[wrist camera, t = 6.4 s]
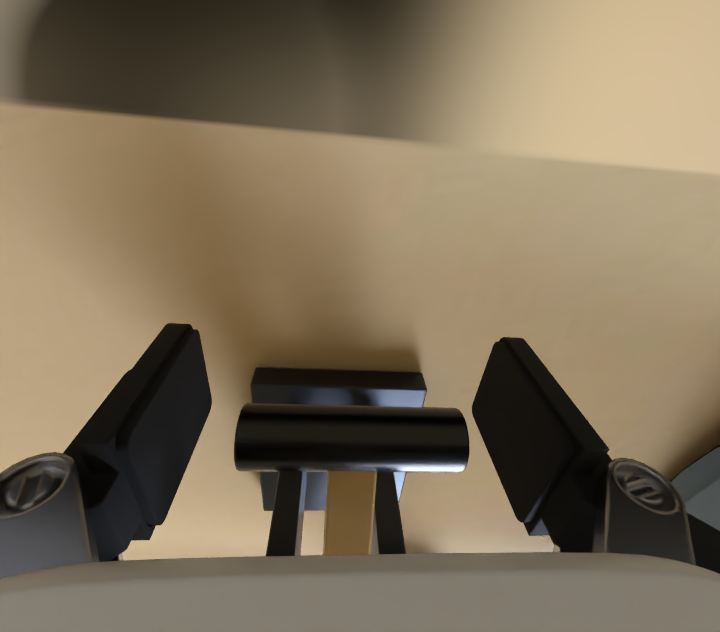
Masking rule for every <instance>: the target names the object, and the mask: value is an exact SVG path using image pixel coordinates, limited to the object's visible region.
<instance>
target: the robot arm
mask: <svg viewBox="0 0 720 632" xmlns="http://www.w3.org/2000/svg"><path fill="white" fill-rule="evenodd" d="M211 404H212V398H211V393H210V387H209V382H208V377H207V371H206V366H205V361H204V355H203V350H202V345H201V339H200V334H199V331H198V330H195V329H193V328H192V326H191V325H190V324H174V323H169V324H167V325H165V327H164V328H163V329H162V331H161V332H160V333H159V334H158V336H157V337H156V338H155V340H154V341H153V342H152V344H151V345H150V346H149V347H148V349H147V350H146V351H145V353H144V354H143V355H142V357H141V358H140V359H139V360H138V362H137V363H136V364H135V366H134V367H133V368H132V369H131V370H129V371H128V372H127V373H126V374H125V375H124V376H123V377H122V378H121V380H120V381H119V382H118V384H117V385H116V386H115V387H114V389H113V390H112V391H111V392H110V394H109V395H108V396H107V398H106V399H105V400H104V401H103V403H102V404H101V405H100V407H99V408H98V409H97V410H96V412H95V413H94V414H93V416H92V417H91V418H90V419H89V421H88V422H87V423H86V425H85V426H84V427H83V428H82V430H81V431H80V432H79V433H78V435H77V436H76V437H75V439H74V440H73V441H72V442H71V444H70V445H69V446H68V448H67V449H66V450H65V451H64V453H56V452H53V453H44V454H39V455H36V456H33V457H29V458H27V459H25V460H22V461H20V462H18V463H16V464H14V465H12V466H11V467H9V468H8V469H6V470H5V471H3V472H1V473H0V632H720V531H719V530H717V529H715V528H714V527H712V526H710V525H708V524H707V523H705V522H703V521H701V520H700V519H698V518H696V517H694V516H693V515H691V514H689V513H687V512H686V506H685V503H684V500H683V498H682V496H681V494H680V493H679V491H678V490H677V489H676V487H675V486H674V485H673V484H672V483H671V482H670V481H669V480H668V479H667V478H666V477H665V476H663V475H662V474H660V473H659V472H658V471H656V470H655V469H653V468H651V467H650V466H648V465H646V464H644V463H642V462H639V461H636V460H633V459H627V458H618V459H614V460H613V461H612V459H611V458H610V457H609V455H608V454H607V452H608V451H609V448H608V447H607V446H606V444H605V443H604V442H603V440H602V439H601V438H600V437H599V435H598V434H597V433H596V431H595V430H594V429H593V428H592V426H591V425H590V424H589V422H588V421H587V420H586V418H585V417H584V416H583V415H582V413H581V412H580V411H579V409H578V408H577V407H576V406H575V404H574V403H573V402H572V400H571V399H570V398H569V397H568V395H567V394H566V393H565V391H564V390H563V389H562V388H561V386H560V385H559V384H558V382H557V381H556V380H555V379H554V377H553V376H552V375H551V373H550V372H549V371H548V369H547V368H546V367H545V366H544V364H543V363H542V362H541V360H540V359H539V358H538V357H537V355H536V354H535V353H534V351H533V350H532V349H531V348H530V346H529V345H528V344H527V342H526V341H525V340H524V339H523V338H510V337H503V338H501V339H500V341H499V342H495V343H494V345H493V348H492V351H491V354H490V356H489V359H488V362H487V365H486V368H485V371H484V373H483V376H482V379H481V382H480V385H479V388H478V390H477V393H476V396H475V399H474V402H473V405H472V414H473V417H474V419H475V422H476V424H477V426H478V429H479V431H480V433H481V436H482V438H483V441H484V443H485V445H486V448H487V450H488V452H489V455H490V457H491V459H492V462H493V464H494V466H495V469H496V471H497V473H498V476H499V478H500V480H501V483H502V485H503V488H504V490H505V492H506V495H507V497H508V499H509V502H510V504H511V506H512V509H513V511H514V513H515V516H516V518H517V519H518V520H519V521H520V522H523V523H524V525H525V527H526V530H527V532H528V534H529V536H542V535H550V537H551V539H552V541H553V543H554V549H553V552H534V553H439V554H373V555H313V556H264V557H217V558H179V559H153V560H127V561H123V557H122V552H124V551H125V550H126V549H127V548H128V546H129V544H130V541H131V540H150V538H151V535H152V533H153V531H154V528H155V526H156V525H161V524H162V523H163V522H164V520H165V518H166V516H167V514H168V511H169V509H170V506H171V504H172V502H173V499H174V497H175V494H176V492H177V489H178V487H179V485H180V482H181V480H182V477H183V475H184V473H185V470H186V468H187V465H188V463H189V460H190V458H191V456H192V453H193V451H194V448H195V446H196V444H197V441H198V439H199V436H200V434H201V431H202V429H203V427H204V424H205V422H206V419H207V417H208V415H209V412H210V409H211Z"/></svg>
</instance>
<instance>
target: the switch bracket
mask: <svg viewBox="0 0 720 632" xmlns="http://www.w3.org/2000/svg"><path fill="white" fill-rule="evenodd" d="M426 392H427V388H426V385H425V381H424V378H423V375H422V373H407V372H375V371H343V370H311V369H279V368H256V369H255V372H254V375H253V378H252V382H251V394H252V403H260V404H304V405H349V406H393V407H423V404H424V400H425V396H426ZM405 475H406V472H377V479H376V492H375V504H374V517H373V530H372V542H371V555H373V554H406V551H405V544H404V537H403V531H402V524H401V517H400V510H399V504H398V503H399V499H400V495H401V491H402V487H403V483H404V479H405ZM260 480H261V489H262V499H263V508H264V511H273V515H272V521H271V527H270V534H269V540H268V546H267V552H266V556H300V553H301V541H302V529H303V517H304V510H325V506H326V485H327V472H275V471H260Z"/></svg>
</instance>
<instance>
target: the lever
mask: <svg viewBox="0 0 720 632" xmlns="http://www.w3.org/2000/svg"><path fill="white" fill-rule="evenodd" d="M468 458H469V435H468V430H467V425H466V422H465V419H464V417H463V415H462V413H461V412H460V410H458V409H456V408H438V407H393V406H349V405H304V404H260V403H247V404H245V405H244V406H243V408H242V410H241V412H240V415H239V418H238V422H237V427H236V433H235V442H234V461H235V466H236V469H237V470H238V471H275V472H327V485H326V506H325V526H324V547H323V555H371V542H372V530H373V517H374V504H375V492H376V479H377V472H462V471H463V470H464V469H465V468H466V466H467V462H468Z"/></svg>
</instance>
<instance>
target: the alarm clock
mask: <svg viewBox="0 0 720 632" xmlns="http://www.w3.org/2000/svg"><path fill="white" fill-rule="evenodd" d="M671 483H672V484H673V485H674V486H675V487H676V489H677V490H678V491H679V493H680V494H681V496H682V498H683V500H684V503H685V506H686V512H687V513H689V514H691V515H693V516H694V517H696V518H698V519H700V520H701V521H703V522H705V523H707V524H708V525H710V526H712V527H714V528H715V529H717V530H719V531H720V446H719V447H718V448H716V449H714V450H713V451H711V452H710V453H708V454H707V455H705V456H704V457H702V458H701V459H699V460H698V461H696V462H695V463H693V464H692V465H691V466H689V467H688V468H686V469H685V470H683V471H682V472H681V473H680V474H679V475H678V476H677V477H676V478H675V479H674V480H672V481H671Z"/></svg>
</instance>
